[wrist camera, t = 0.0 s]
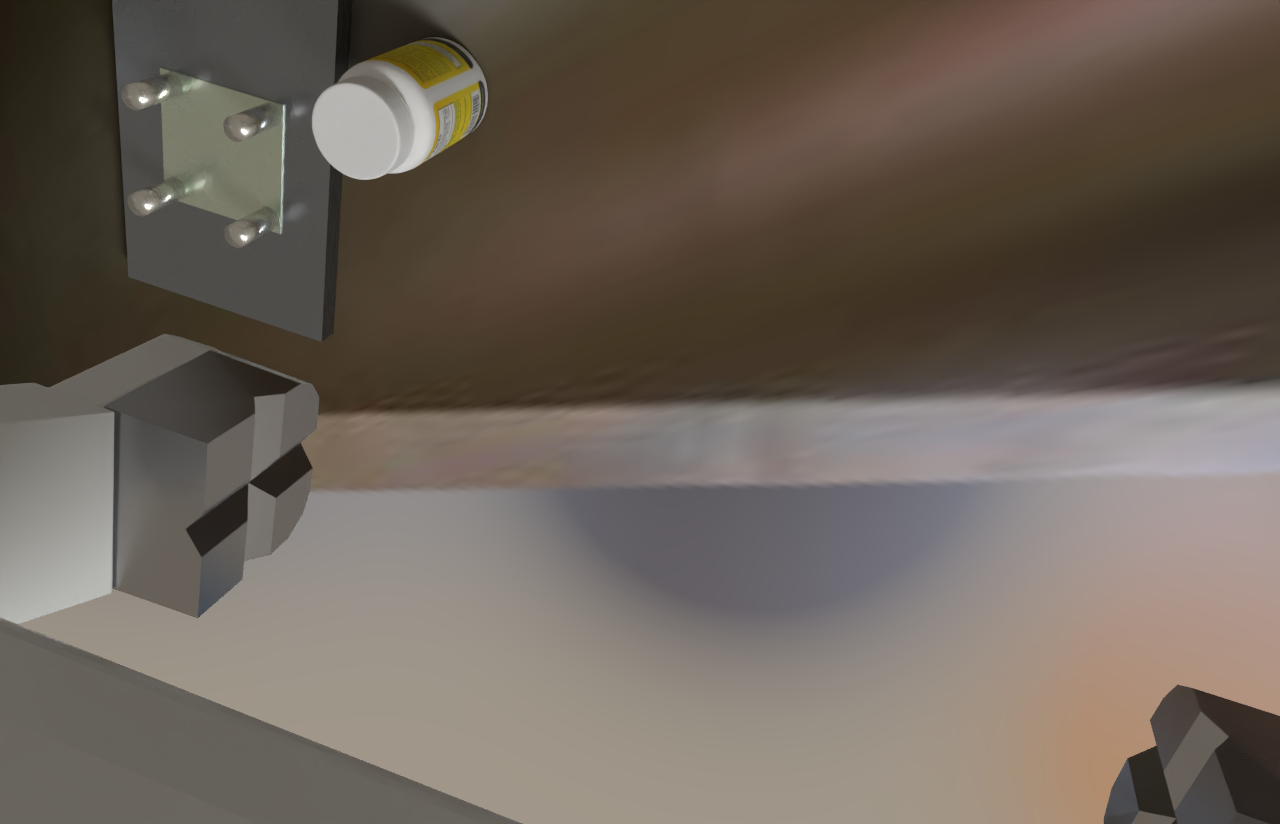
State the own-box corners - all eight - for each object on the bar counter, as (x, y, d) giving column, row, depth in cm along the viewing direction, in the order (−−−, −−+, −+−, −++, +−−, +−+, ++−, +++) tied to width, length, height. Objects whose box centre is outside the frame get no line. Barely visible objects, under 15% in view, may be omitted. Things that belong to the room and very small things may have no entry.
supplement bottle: (381, 56, 50) (281, 93, 43) (463, 20, 48) (373, 53, 41) (425, 152, 52) (336, 203, 45) (506, 121, 50) (426, 169, 43)
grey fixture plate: (125, -69, 51) (60, -62, 47) (351, -5, 49) (302, 8, 45) (143, 269, 60) (90, 296, 56) (333, 332, 58) (290, 365, 55)
